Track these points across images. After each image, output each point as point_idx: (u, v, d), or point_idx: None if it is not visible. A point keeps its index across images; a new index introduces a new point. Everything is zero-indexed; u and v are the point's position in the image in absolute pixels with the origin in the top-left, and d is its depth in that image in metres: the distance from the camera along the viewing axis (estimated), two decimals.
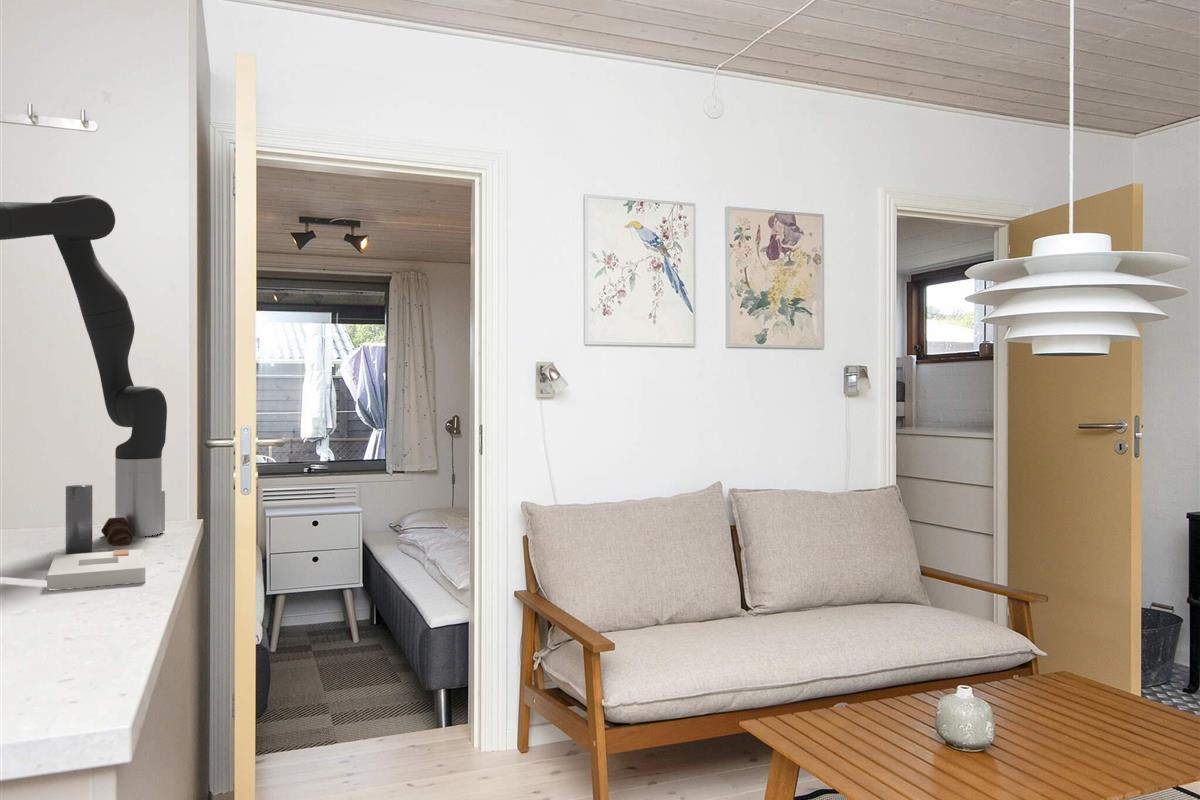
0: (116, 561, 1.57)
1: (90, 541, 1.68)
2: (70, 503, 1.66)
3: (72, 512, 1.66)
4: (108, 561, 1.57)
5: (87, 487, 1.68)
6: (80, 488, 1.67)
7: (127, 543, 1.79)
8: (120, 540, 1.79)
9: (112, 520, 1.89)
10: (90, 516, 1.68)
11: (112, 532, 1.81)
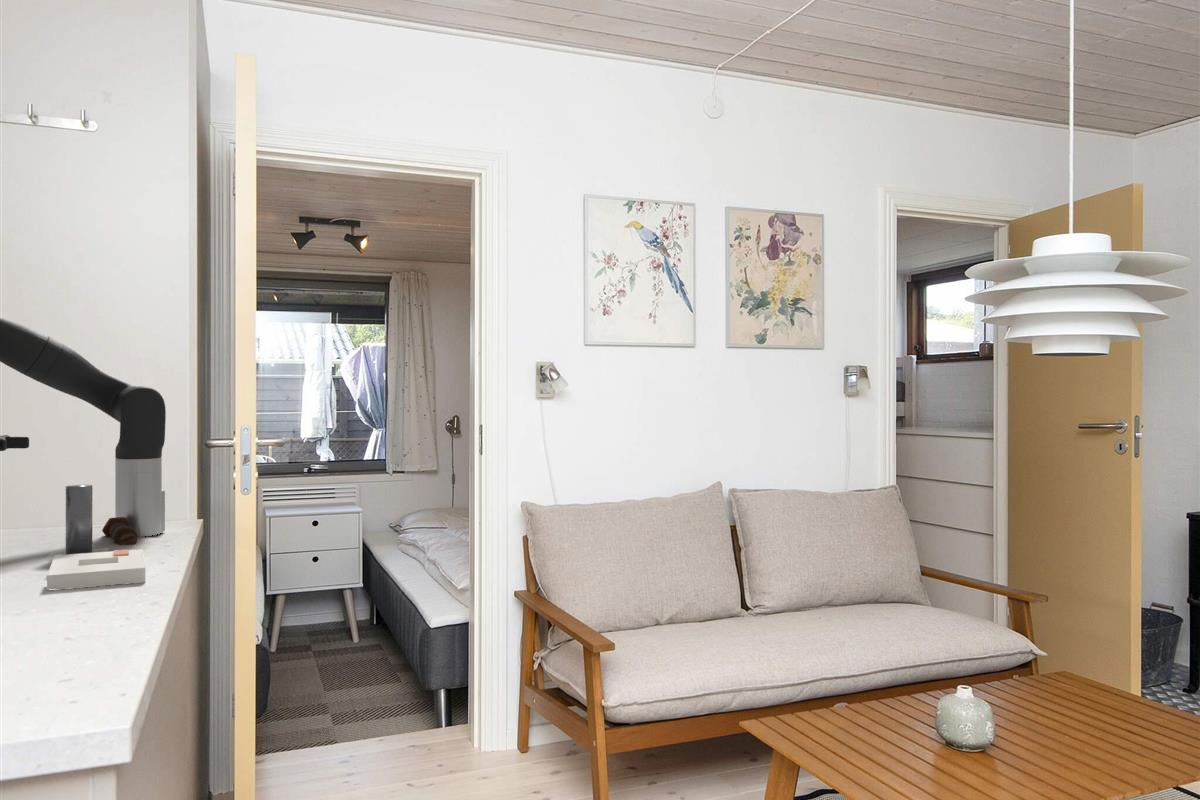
0: (116, 561, 1.57)
1: (90, 541, 1.68)
2: (70, 503, 1.66)
3: (72, 512, 1.66)
4: (108, 561, 1.57)
5: (87, 487, 1.68)
6: (80, 488, 1.67)
7: (134, 542, 1.80)
8: (126, 539, 1.79)
9: (113, 520, 1.89)
10: (90, 516, 1.68)
11: (117, 532, 1.81)
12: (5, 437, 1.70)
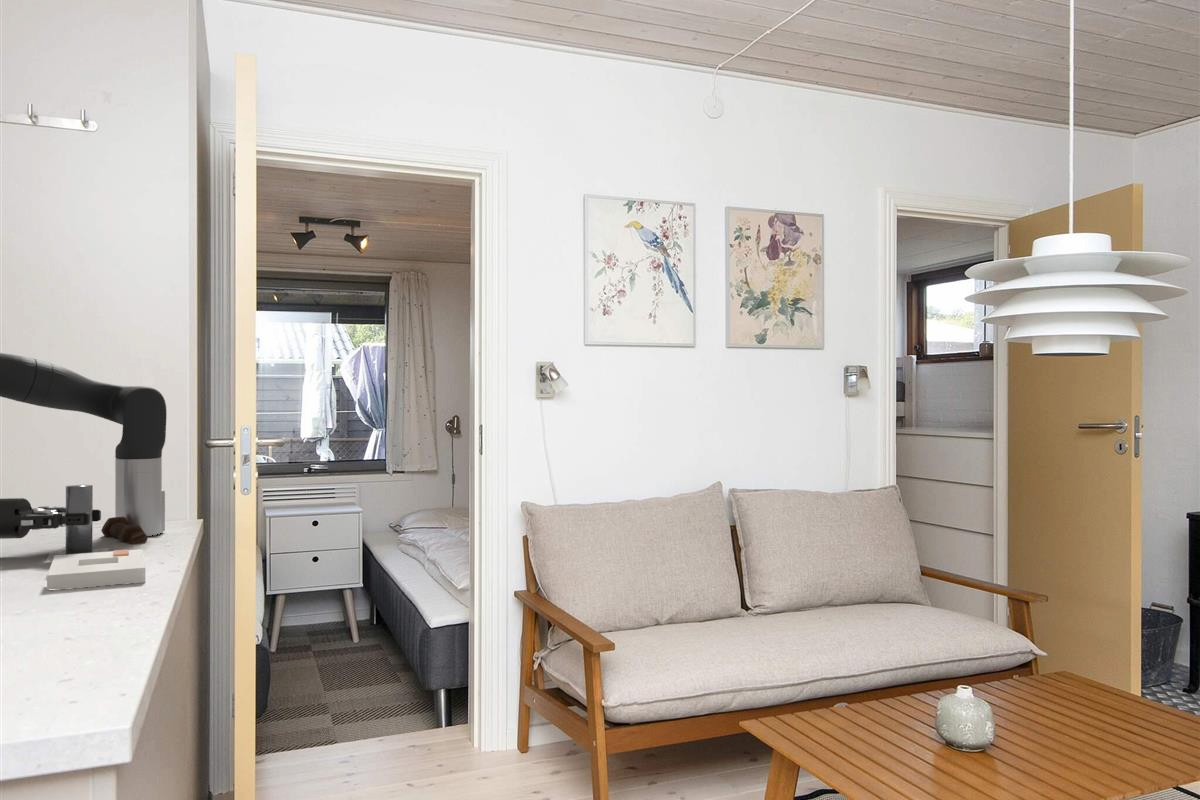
0: (116, 561, 1.57)
1: (90, 541, 1.68)
2: (70, 503, 1.66)
3: (72, 512, 1.66)
4: (108, 561, 1.57)
5: (87, 487, 1.68)
6: (80, 488, 1.67)
7: (144, 541, 1.82)
8: (137, 538, 1.81)
9: (113, 520, 1.90)
10: (90, 516, 1.68)
11: (126, 531, 1.82)
12: None
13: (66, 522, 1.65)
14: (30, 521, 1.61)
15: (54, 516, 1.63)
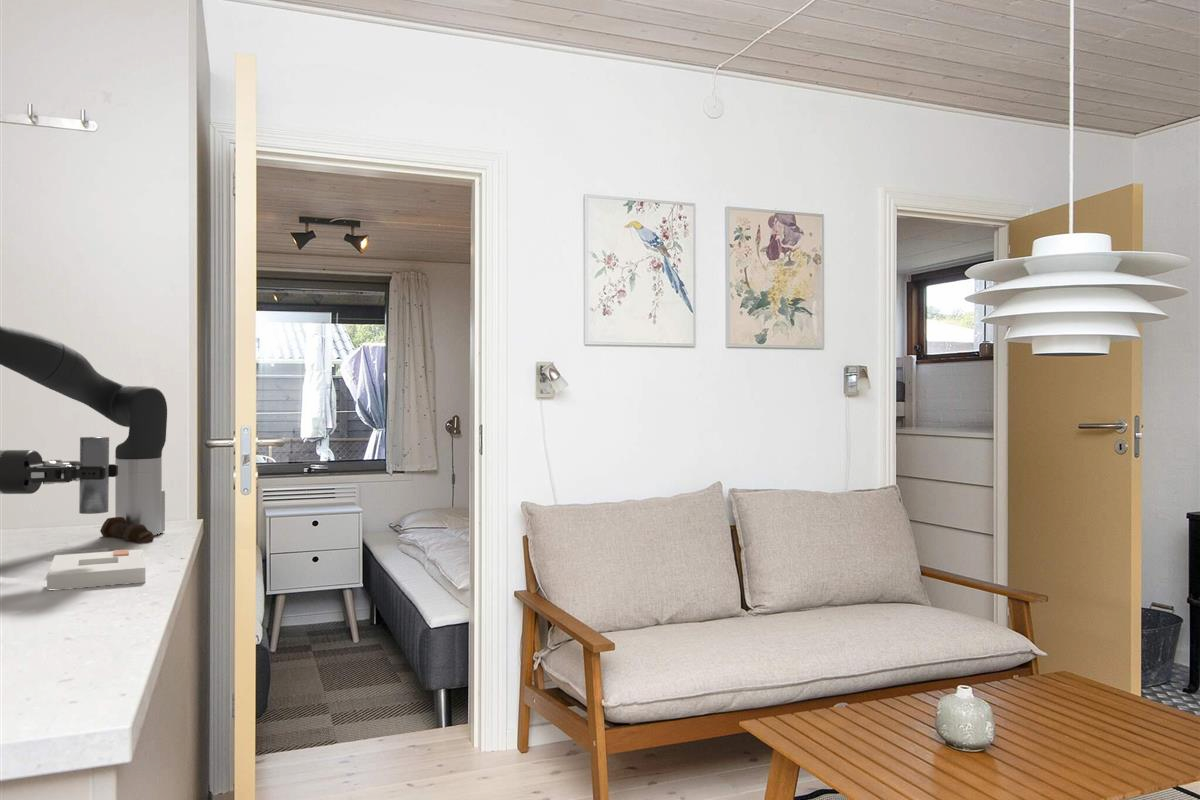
0: (116, 561, 1.57)
1: (106, 498, 1.54)
2: (84, 456, 1.51)
3: (87, 465, 1.51)
4: (108, 561, 1.57)
5: (103, 438, 1.53)
6: (96, 439, 1.52)
7: (151, 540, 1.83)
8: (144, 537, 1.82)
9: (112, 520, 1.90)
10: None
11: (131, 530, 1.83)
12: None
13: (80, 476, 1.50)
14: (41, 473, 1.46)
15: (67, 468, 1.48)
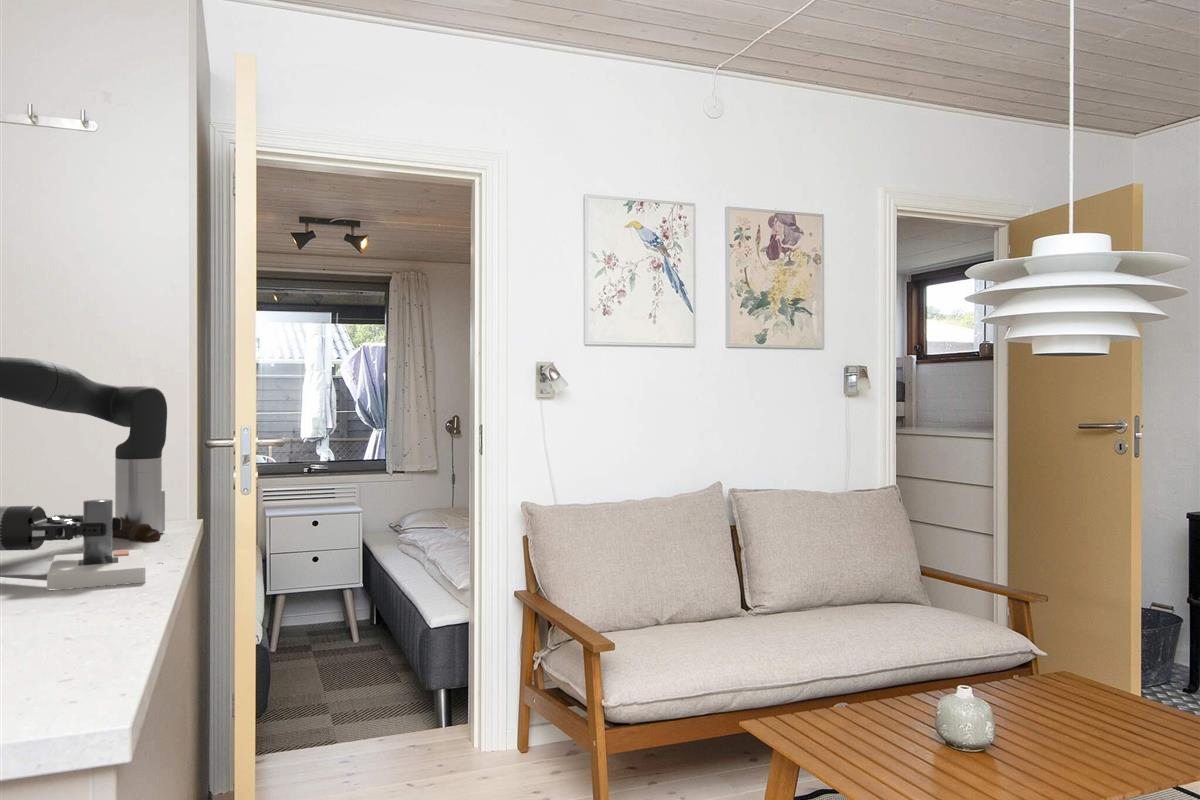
0: (116, 561, 1.57)
1: (110, 561, 1.53)
2: (88, 520, 1.51)
3: None
4: None
5: (107, 502, 1.52)
6: (99, 503, 1.52)
7: (158, 539, 1.85)
8: (152, 536, 1.84)
9: None
10: (110, 534, 1.53)
11: (137, 529, 1.84)
12: None
13: (81, 533, 1.49)
14: (42, 532, 1.46)
15: (67, 526, 1.47)
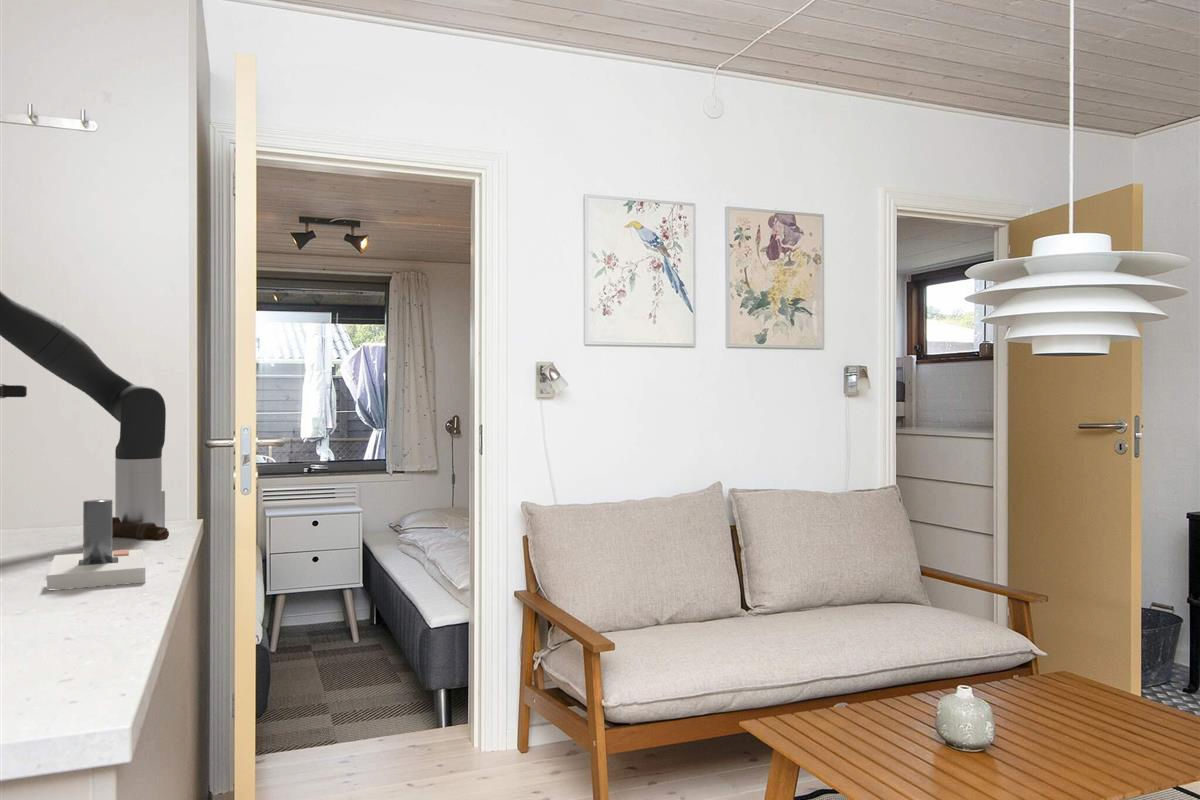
0: (116, 561, 1.57)
1: (110, 561, 1.53)
2: (88, 520, 1.51)
3: (90, 529, 1.51)
4: None
5: (107, 502, 1.53)
6: (99, 503, 1.52)
7: (167, 536, 1.88)
8: (162, 534, 1.87)
9: None
10: (110, 534, 1.53)
11: (145, 528, 1.86)
12: (2, 385, 1.66)
13: None
14: None
15: None
